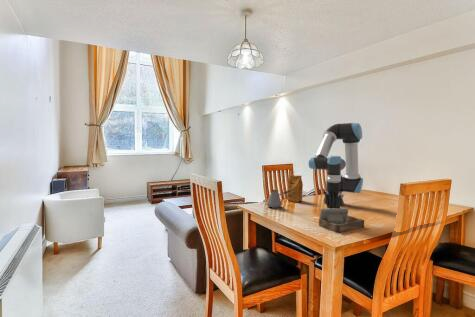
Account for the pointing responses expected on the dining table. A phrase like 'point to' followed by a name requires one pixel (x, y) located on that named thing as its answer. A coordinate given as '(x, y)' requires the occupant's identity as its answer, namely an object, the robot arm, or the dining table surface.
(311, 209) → the dining table surface
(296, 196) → the coffee package
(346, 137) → the robot arm
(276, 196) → the coffee pot
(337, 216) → the digital clock
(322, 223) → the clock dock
